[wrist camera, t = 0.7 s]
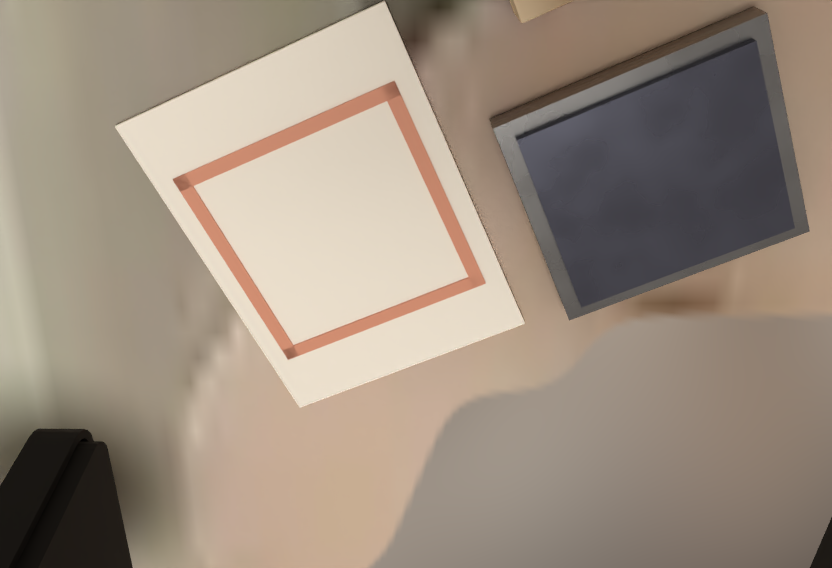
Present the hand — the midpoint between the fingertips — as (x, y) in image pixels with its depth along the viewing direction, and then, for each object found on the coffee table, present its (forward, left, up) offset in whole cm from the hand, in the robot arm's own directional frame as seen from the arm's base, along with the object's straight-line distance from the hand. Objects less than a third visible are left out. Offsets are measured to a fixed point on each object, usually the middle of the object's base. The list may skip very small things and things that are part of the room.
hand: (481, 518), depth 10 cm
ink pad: (-7, +9, -24) cm, 27 cm away
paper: (+6, +6, -24) cm, 26 cm away
